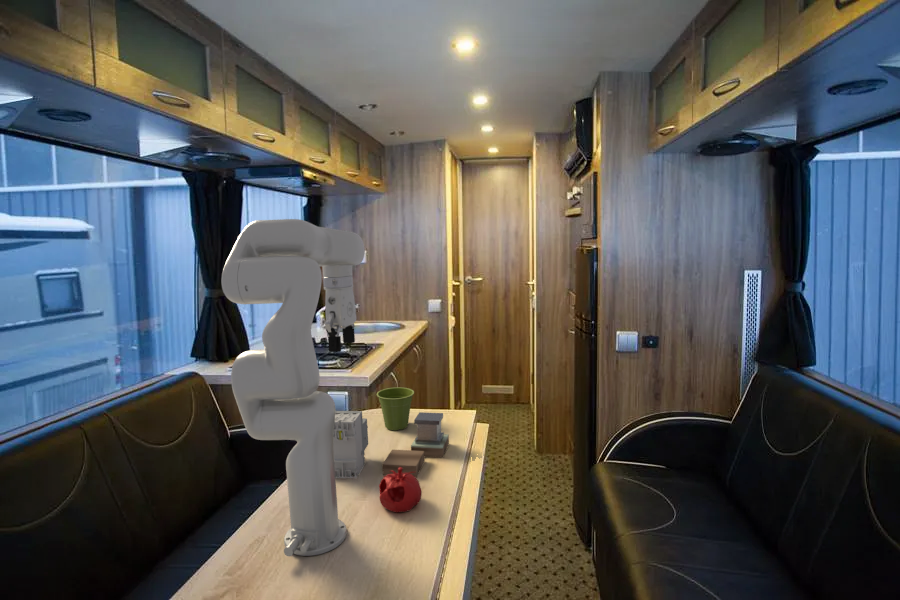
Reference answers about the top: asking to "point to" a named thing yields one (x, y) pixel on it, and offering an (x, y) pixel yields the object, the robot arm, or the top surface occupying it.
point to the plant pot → (395, 406)
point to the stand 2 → (432, 448)
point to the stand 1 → (404, 462)
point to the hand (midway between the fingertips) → (342, 346)
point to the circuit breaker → (349, 443)
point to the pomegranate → (399, 491)
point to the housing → (429, 428)
